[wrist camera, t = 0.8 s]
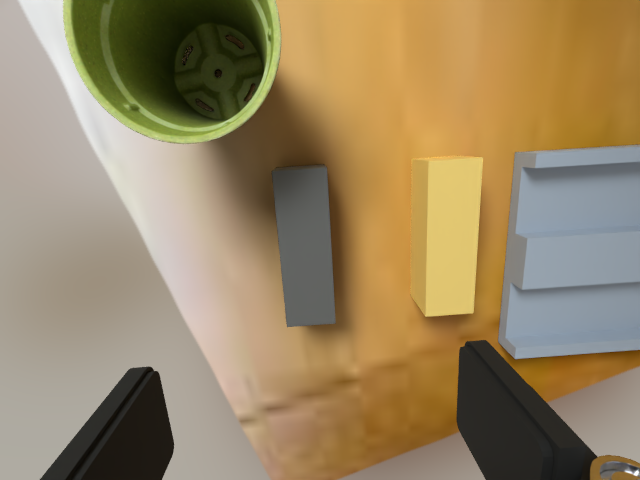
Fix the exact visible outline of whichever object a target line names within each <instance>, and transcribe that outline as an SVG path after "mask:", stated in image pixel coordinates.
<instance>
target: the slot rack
mask: <svg viewBox="0 0 640 480" xmlns="http://www.w3.org/2000/svg"><path fill="white" fill-rule="evenodd" d="M498 342H499V343H500V344H501V345H502V346H503V347H504V348H505V349H506V350H507V351H508V352H509V354H510V355H511V356H512V357H513V358H514V359H521V358H535V357H548V356H561V355H575V354H588V353H602V352H615V351H629V350H640V145H625V146H609V147H593V148H577V149H561V150H545V151H529V152H515V159H514V171H513V182H512V193H511V204H510V215H509V226H508V237H507V248H506V259H505V271H504V282H503V293H502V304H501V315H500V326H499V337H498Z"/></svg>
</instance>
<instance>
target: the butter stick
mask: <svg viewBox="0 0 640 480" xmlns="http://www.w3.org/2000/svg"><path fill="white" fill-rule="evenodd" d="M482 165H483V157H471V156H444V157H429V158H415V159H411V288H410V295H411V296H412V298H413V299H414V301H415V302H416V304H417V305H418V307H419V308H420V309H421V311H422V312H423V314H424V315H425V317H429V316H442V315H455V314H469V313H473V312H474V296H475V279H476V263H477V247H478V231H479V214H480V198H481V182H482Z"/></svg>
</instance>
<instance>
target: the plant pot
mask: <svg viewBox="0 0 640 480" xmlns="http://www.w3.org/2000/svg"><path fill="white" fill-rule="evenodd" d="M63 19H64V30H65V36H66V40H67V43H68V47H69V51H70V54H71V57H72V59H73V62H74V64H75V67H76V69H77V71H78V73H79V75H80V77H81V78H82V80H83V82H84V84H85V85H86V87H87V88H88V90H89V91H90V93H91V94H92V95H93V97H94V98H95V99H96V100H97V101H98V103H99V104H100V105H101V106H102V107H103V108H104V109H105V110H106V111H107V112H108V113H110V114H111V115H112V116H113V117H114V118H116V119H117V120H118V121H119V122H121V123H122V124H124V125H125V126H127V127H128V128H130V129H132V130H134V131H136V132H138V133H140V134H142V135H144V136H147V137H149V138H152V139H156V140H159V141H164V142H169V143H178V144H194V143H201V142H206V141H211V140H214V139H217V138H220V137H223V136H225V135H227V134H229V133H231V132H233V131H234V130H236V129H237V128H239V127H240V126H242V125H243V124H244V123H246V122H247V121H248V120H249V119H250V118H251V117H252V116H253V115H254V114H255V113H256V111H257V110H258V109H259V108H260V106H261V105H262V103H263V102H264V100H265V99H266V97H267V95H268V93H269V91H270V89H271V87H272V85H273V82H274V79H275V77H276V73H277V70H278V65H279V60H280V52H281V27H280V19H279V13H278V9H277V5H276V1H275V0H63ZM226 35H232V36H234V37H235V38H237V39H238V40H240V41H241V42H242V43H243V45H244V49H240V48H239V47H238V46H237V45H236V44H234V43H233V42H231V41H228V40H227V39H226V38H225V36H226ZM189 46H193V50H192V52H191V53H190V55H189V56H188V59H187V62H186V65H183V63H182V58H183V55H184V53H185V50H186V49H187V47H189ZM217 69H219V70H221V72H222V75H221V77H219V78H217V77H216V76H215V71H216V70H217ZM252 83H255V86H256V87H255V89H254V91H253V93H252V97H251V99H250V100H249V101H248V102H245V101H244V98H245V97H246V95H247V94H248V92H249V90H250V88H251V84H252ZM196 99H200V100H201V101H202V102H203V103H205V104H206V105H208V106H210V107H211V108H213V109H214V111H209V110H205V109H203V108H201V107H200V106H199V105H197V103H196V101H195V100H196Z"/></svg>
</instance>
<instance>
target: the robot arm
mask: <svg viewBox="0 0 640 480" xmlns="http://www.w3.org/2000/svg"><path fill="white" fill-rule="evenodd" d="M457 425H458V428H459V431H460V433H461V435H462V437H463V438H464V440H465V442H466V444H467V446H468V447H469V449H470V451H471V453H472V455H473V457H474V458H475V461H476V462H477V464H478V466H479V468H480V470H481V472H482V473H483V475H484V477H485V479H486V480H640V463H638V462H636V461H633V460H631V459H627V458H624V457H620V456H611V455H605V456H599V457H597V456H596V455H595V454H594V453H593V452H592V451H591V449H590V448H589V447H587V445H586V444H585V443H584V442H583V441H582V440H581V439H580V438H579V437H578V436H577V435H576V434H575V433H574V432H573V431H572V429H571V428H570V427H569V426H568V425H567V424H566V423H565V422H564V421H563V420H562V419H561V418H560V417H559V416H558V415H557V414H556V412H555V411H554V410H553V409H552V408H551V407H550V406H549V405H548V404H547V403H546V402H545V401H544V400H543V399H542V398H541V397H540V396H539V395H538V393H537V392H536V391H535V390H534V389H533V388H532V387H531V386H530V385H528V384H527V383H526V382H525V381H524V380H523V379H522V378H521V376H520V375H519V374H518V373H517V372H516V371H515V370H514V369H513V368H512V367H511V366H510V365H509V364H508V363H507V362H506V361H505V359H504V358H503V357H502V356H501V355H500V354H499V353H498V352H497V351H496V350H495V349H494V348H493V347H492V346H491V345H490V344H489V343H488V342H487V341H486V340H480V341H467V342H466V343H465V347H461V348H460V352H459V375H458V398H457ZM173 449H174V441H173V436H172V431H171V427H170V422H169V417H168V412H167V408H166V403H165V399H164V394H163V389H162V384H161V380H160V375H159V373H158V372H157V371H154V370H153V368H152V367H140V368H131V369H129V370H128V371H127V373H126V374H125V375H124V376H123V377H122V379H121V380H120V381H119V382H118V384H117V385H116V386H115V387H114V389H113V390H112V391H111V392H110V394H109V395H108V396H107V397H106V399H105V400H104V401H103V402H102V403H101V405H100V406H99V407H98V409H97V410H96V411H95V412H94V413H93V415H92V416H91V417H90V418H89V420H88V421H87V422H86V423H85V425H84V426H83V427H82V428H81V430H80V431H79V432H78V433H77V434H76V436H75V437H74V438H73V439H72V441H71V442H70V443H69V444H68V445H67V447H66V448H65V449H64V450H63V452H62V453H61V454H60V455H59V457H58V458H57V459H56V460H55V462H54V463H53V464H52V465H51V467H50V468H49V469H48V470H47V471H46V473H45V474H44V475H43V477H42V478H41V479H40V480H162V478H163V475H164V473H165V471H166V469H167V466H168V464H169V462H170V460H171V457H172V455H173Z"/></svg>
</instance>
